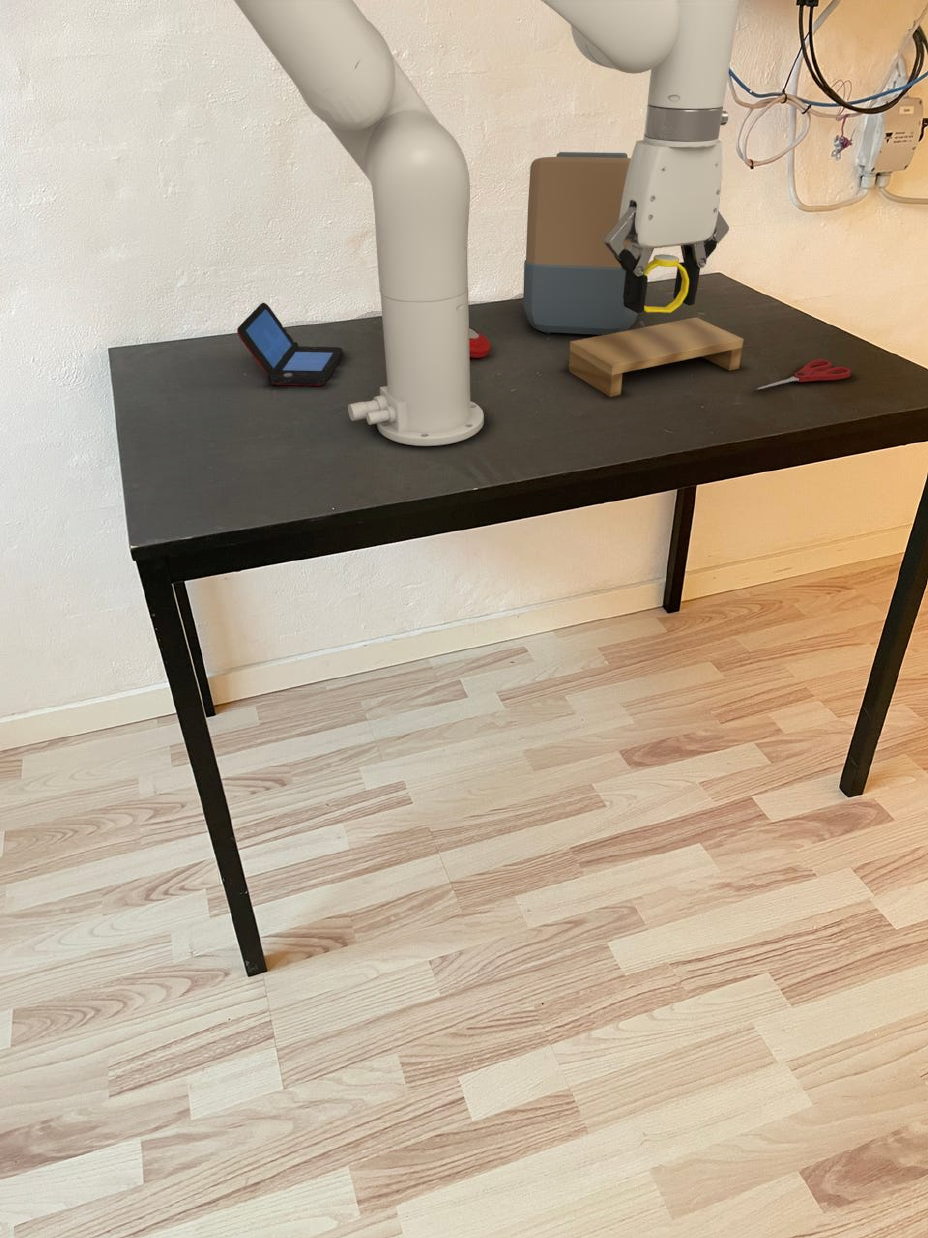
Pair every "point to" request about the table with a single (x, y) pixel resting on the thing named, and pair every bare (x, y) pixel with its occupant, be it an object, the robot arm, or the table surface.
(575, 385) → the table surface
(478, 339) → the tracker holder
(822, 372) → the scissors
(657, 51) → the robot arm
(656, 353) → the desk stand
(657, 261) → the watch
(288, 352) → the handheld game console
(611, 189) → the brown blue rounded box
